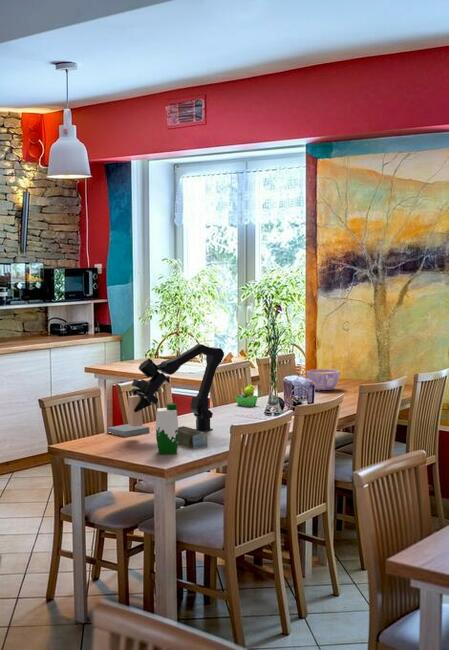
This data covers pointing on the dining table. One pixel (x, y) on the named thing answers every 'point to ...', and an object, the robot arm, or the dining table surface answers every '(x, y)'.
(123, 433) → the plate
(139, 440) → the dining table surface
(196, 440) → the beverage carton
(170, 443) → the milk carton
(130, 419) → the block
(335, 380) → the purple round bowl
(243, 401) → the fruit basket
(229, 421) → the dining table surface
